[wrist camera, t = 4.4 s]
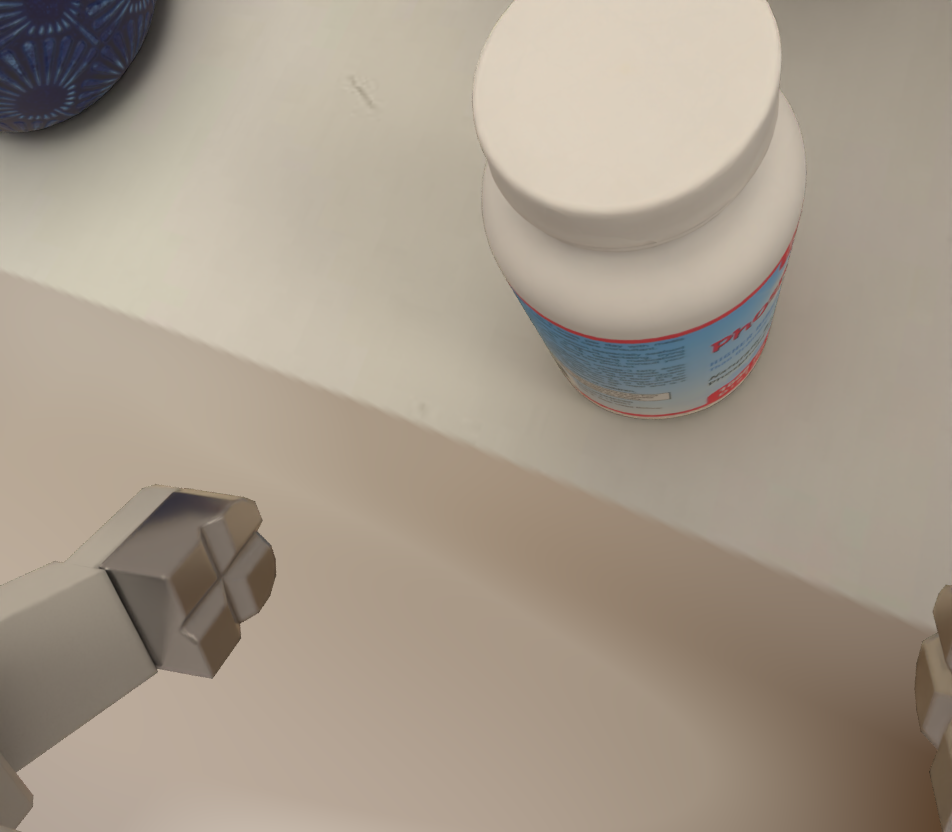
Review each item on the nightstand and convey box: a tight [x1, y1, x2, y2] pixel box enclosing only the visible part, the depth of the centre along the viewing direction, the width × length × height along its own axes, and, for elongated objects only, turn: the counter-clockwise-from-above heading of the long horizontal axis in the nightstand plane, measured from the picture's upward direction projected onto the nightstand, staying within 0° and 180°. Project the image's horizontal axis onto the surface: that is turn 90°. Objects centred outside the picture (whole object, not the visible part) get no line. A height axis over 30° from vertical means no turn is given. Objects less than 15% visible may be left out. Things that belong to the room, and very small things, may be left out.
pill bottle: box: [472, 0, 807, 419], centre depth 16 cm, size 6×6×11 cm
